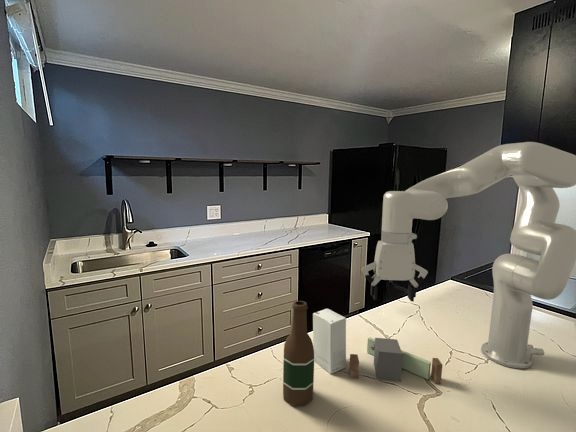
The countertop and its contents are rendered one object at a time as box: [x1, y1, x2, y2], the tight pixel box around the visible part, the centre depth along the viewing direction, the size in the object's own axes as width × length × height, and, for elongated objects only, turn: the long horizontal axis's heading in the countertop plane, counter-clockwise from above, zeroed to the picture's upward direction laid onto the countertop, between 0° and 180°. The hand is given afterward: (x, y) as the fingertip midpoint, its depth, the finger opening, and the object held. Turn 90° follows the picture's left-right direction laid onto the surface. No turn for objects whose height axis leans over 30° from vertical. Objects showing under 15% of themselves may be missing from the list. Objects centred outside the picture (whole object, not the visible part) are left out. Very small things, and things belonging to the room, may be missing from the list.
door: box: [366, 336, 432, 380], centre depth 88 cm, size 18×2×4 cm, turn 47°
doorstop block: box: [373, 337, 402, 383], centre depth 85 cm, size 6×7×8 cm
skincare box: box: [312, 308, 347, 374], centre depth 88 cm, size 8×6×15 cm
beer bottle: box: [282, 300, 315, 407], centre depth 74 cm, size 8×8×24 cm
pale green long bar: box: [348, 353, 443, 385], centre depth 83 cm, size 23×3×6 cm, turn 85°
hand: (392, 298), depth 85 cm, fingers open, 9 cm apart
